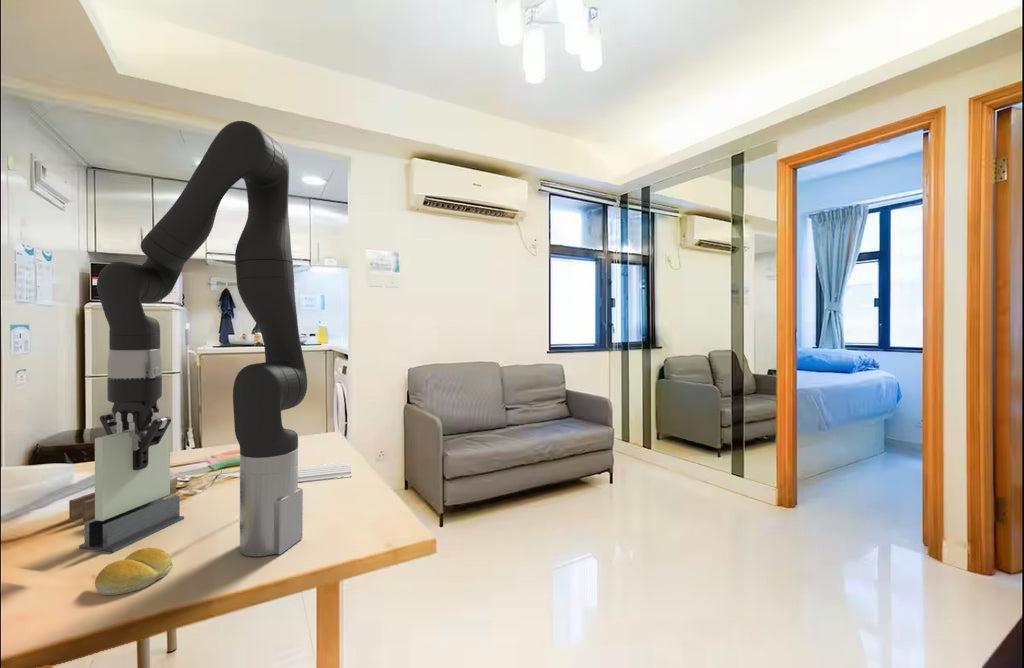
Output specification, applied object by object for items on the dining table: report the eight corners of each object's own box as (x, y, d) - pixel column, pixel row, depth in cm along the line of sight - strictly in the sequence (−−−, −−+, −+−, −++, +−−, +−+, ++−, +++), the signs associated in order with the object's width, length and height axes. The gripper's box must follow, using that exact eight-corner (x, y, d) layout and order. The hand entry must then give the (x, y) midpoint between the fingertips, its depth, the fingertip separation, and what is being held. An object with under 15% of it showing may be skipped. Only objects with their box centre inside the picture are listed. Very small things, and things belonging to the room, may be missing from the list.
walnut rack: (186, 504, 96) (186, 480, 96) (118, 535, 82) (118, 506, 82) (141, 500, 98) (141, 475, 98) (67, 528, 84) (67, 500, 84)
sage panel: (170, 493, 86) (170, 423, 85) (102, 520, 74) (102, 438, 74) (163, 493, 86) (163, 422, 86) (94, 520, 74) (94, 438, 74)
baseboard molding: (351, 481, 114) (349, 467, 125) (351, 469, 114) (349, 456, 125) (209, 497, 102) (221, 480, 113) (209, 484, 102) (221, 468, 113)
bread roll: (81, 593, 65) (81, 567, 65) (145, 561, 74) (145, 538, 74) (123, 602, 63) (122, 575, 63) (183, 569, 72) (183, 545, 72)
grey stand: (184, 526, 86) (184, 496, 86) (113, 561, 73) (112, 526, 73) (154, 522, 87) (154, 493, 87) (79, 556, 74) (79, 522, 74)
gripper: (81, 374, 77) (81, 472, 77) (145, 378, 75) (145, 479, 75) (126, 370, 84) (126, 459, 85) (186, 373, 82) (185, 465, 82)
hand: (135, 468), depth 80 cm, fingers closed on sage panel, 1 cm apart
